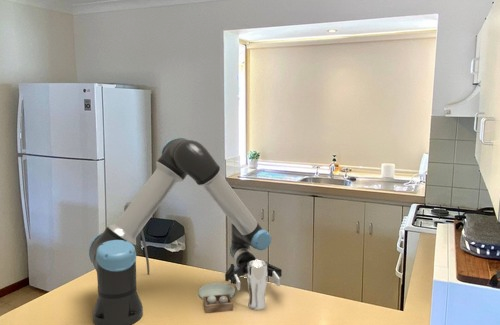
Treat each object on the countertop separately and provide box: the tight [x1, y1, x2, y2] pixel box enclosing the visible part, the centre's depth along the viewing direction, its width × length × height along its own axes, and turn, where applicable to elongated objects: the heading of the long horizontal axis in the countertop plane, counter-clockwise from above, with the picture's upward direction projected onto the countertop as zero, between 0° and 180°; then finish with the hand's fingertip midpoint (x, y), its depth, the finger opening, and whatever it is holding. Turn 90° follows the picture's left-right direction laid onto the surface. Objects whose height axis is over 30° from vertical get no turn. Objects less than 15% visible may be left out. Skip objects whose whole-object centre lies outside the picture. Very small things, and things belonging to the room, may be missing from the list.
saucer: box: [198, 282, 236, 300], centre depth 148 cm, size 13×13×1 cm
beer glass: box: [246, 259, 268, 311], centre depth 138 cm, size 7×7×15 cm
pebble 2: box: [219, 296, 228, 304], centre depth 137 cm, size 3×3×3 cm
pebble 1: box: [207, 295, 217, 305], centre depth 138 cm, size 3×3×3 cm
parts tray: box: [202, 294, 234, 314], centre depth 138 cm, size 9×7×2 cm
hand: (259, 284), depth 136 cm, fingers open, 13 cm apart
